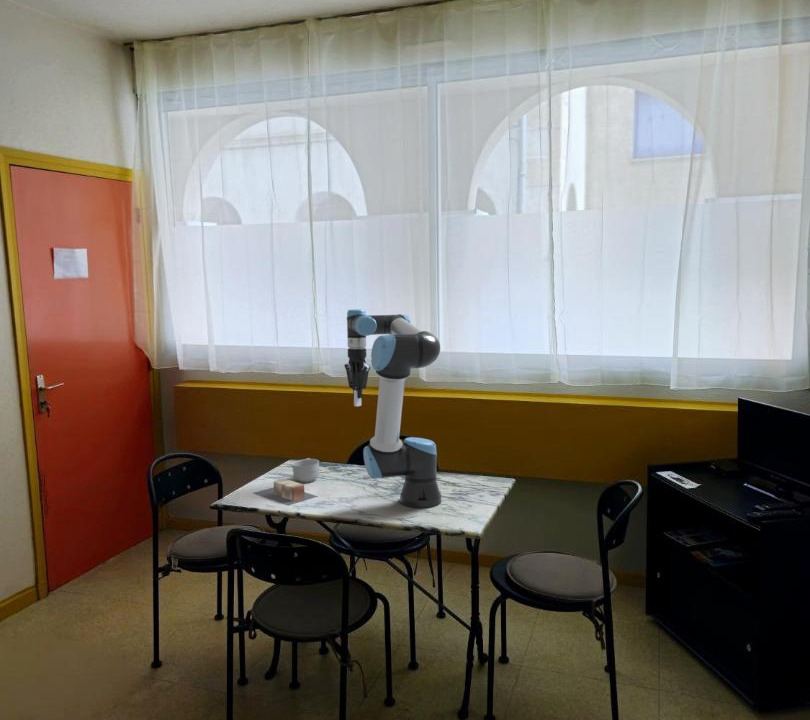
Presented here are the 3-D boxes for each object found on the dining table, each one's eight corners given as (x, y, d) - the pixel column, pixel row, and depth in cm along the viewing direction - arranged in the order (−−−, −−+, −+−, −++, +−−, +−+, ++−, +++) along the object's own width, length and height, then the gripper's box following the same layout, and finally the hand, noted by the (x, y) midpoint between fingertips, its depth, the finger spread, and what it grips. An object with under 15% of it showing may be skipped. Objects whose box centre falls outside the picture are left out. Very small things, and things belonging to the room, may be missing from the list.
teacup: (314, 485, 270) (314, 465, 270) (288, 484, 272) (288, 464, 271) (325, 475, 284) (324, 457, 283) (300, 474, 286) (299, 456, 285)
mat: (318, 497, 255) (318, 496, 255) (288, 506, 245) (288, 505, 245) (282, 485, 270) (282, 484, 270) (252, 494, 260) (252, 493, 260)
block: (284, 491, 262) (304, 497, 254) (274, 494, 258) (293, 501, 250) (284, 478, 261) (304, 484, 253) (273, 481, 257) (293, 487, 249)
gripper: (339, 347, 274) (340, 405, 277) (361, 349, 266) (362, 409, 268) (352, 346, 280) (353, 402, 283) (375, 348, 271) (375, 406, 274)
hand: (357, 405), depth 276 cm, fingers closed
